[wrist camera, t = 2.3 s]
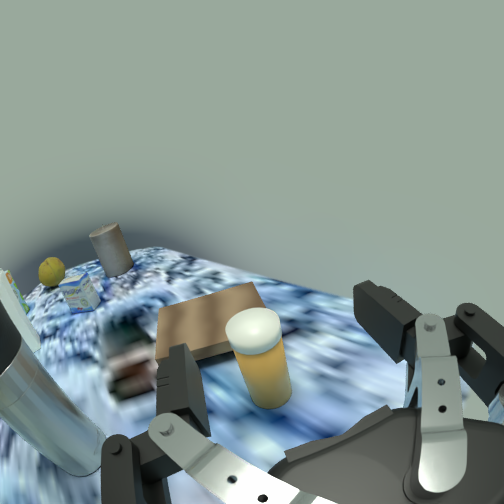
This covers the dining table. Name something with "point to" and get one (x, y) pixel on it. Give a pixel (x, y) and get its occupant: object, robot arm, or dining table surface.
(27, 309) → the snack box
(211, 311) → the walnut stand
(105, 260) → the pillar candle
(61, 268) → the fruit
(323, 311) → the dining table surface
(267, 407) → the beer glass
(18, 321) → the milk
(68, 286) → the medicine box
